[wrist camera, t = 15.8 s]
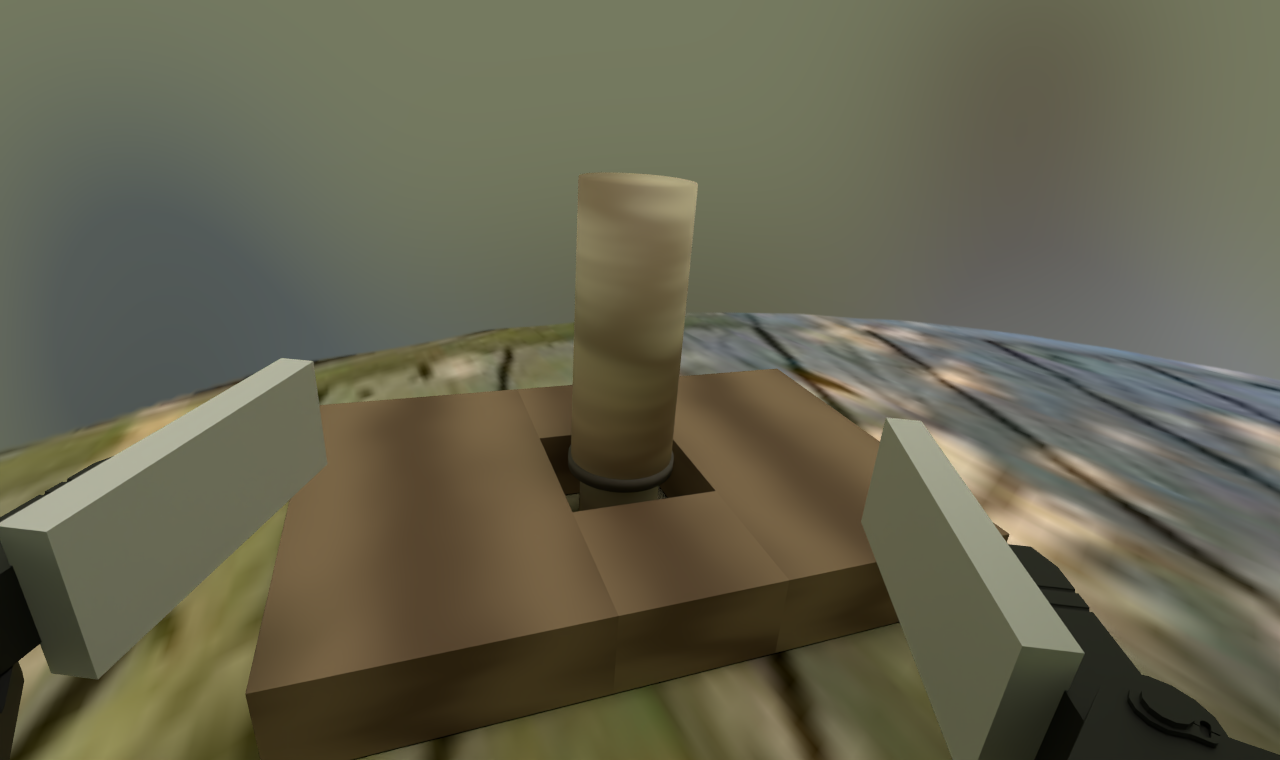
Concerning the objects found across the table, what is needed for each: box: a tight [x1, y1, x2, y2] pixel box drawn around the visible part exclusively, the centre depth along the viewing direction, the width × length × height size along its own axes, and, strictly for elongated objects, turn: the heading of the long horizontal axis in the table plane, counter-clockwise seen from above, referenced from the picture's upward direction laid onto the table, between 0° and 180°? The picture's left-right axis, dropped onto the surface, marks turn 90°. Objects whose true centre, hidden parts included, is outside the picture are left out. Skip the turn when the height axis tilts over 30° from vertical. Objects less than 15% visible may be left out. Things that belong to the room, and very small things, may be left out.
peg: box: [568, 173, 698, 511], centre depth 24 cm, size 4×4×14 cm
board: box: [245, 369, 1009, 760], centre depth 27 cm, size 24×16×3 cm, turn 110°
